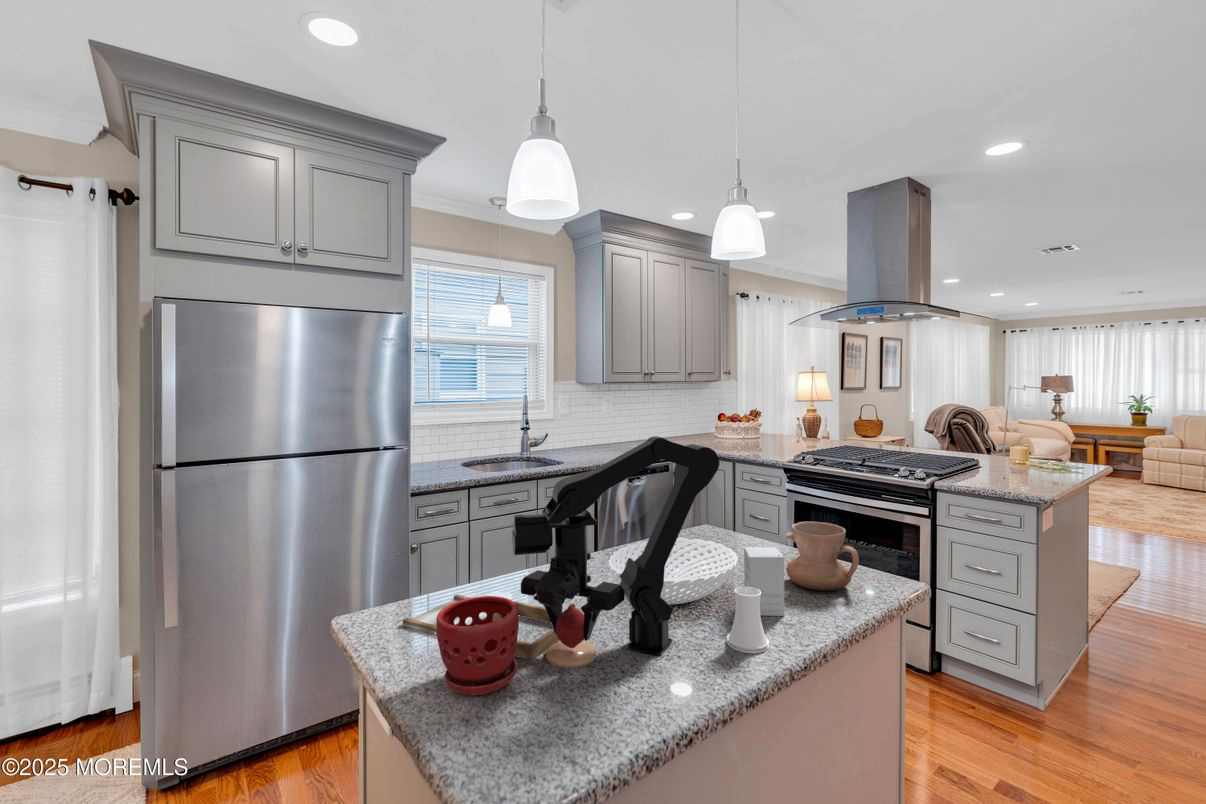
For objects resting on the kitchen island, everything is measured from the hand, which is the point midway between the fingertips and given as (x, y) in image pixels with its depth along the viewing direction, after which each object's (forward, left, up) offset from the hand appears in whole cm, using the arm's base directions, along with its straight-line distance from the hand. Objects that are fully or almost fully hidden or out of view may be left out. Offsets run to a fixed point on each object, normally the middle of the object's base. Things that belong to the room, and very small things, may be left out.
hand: (571, 636), depth 100 cm
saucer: (0, 0, -3) cm, 3 cm away
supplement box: (-26, -37, -4) cm, 45 cm away
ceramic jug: (-35, -58, -4) cm, 68 cm away
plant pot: (+9, +15, -4) cm, 18 cm away
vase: (-27, -19, -4) cm, 33 cm away
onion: (0, 0, -2) cm, 2 cm away
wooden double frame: (+21, -3, -3) cm, 22 cm away
